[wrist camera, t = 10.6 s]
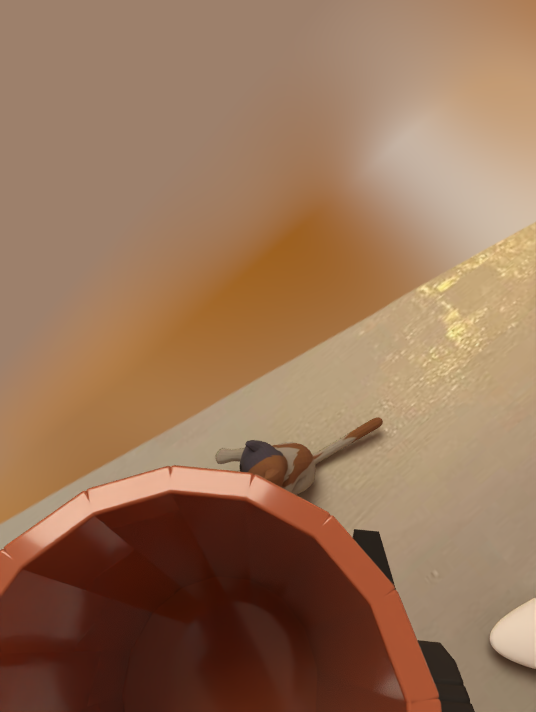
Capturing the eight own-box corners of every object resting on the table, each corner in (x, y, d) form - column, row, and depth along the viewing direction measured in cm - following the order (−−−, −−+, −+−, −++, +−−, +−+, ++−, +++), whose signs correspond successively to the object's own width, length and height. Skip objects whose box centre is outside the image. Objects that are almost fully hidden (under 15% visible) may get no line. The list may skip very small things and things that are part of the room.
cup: (74, 664, 17) (-205, 692, 7) (240, 525, 20) (224, 389, 9) (197, 895, 14) (42, 1566, 4) (373, 697, 17) (564, 779, 6)
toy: (215, 466, 43) (206, 429, 36) (355, 393, 47) (372, 347, 40) (256, 546, 40) (256, 524, 32) (403, 461, 44) (432, 424, 36)
